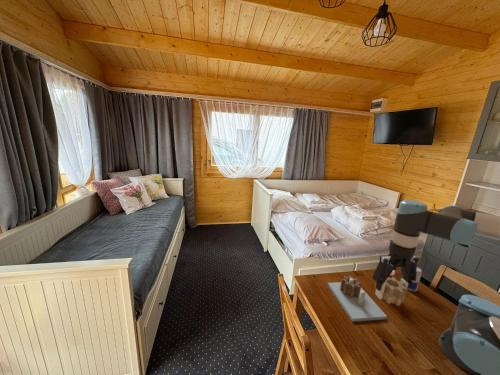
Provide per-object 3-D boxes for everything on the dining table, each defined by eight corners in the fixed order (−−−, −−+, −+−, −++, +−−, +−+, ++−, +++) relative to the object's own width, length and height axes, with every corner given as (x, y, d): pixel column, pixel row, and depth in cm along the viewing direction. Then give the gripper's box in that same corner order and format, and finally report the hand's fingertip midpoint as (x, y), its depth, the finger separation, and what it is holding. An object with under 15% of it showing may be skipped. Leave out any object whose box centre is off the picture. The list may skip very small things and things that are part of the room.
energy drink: (401, 286, 111) (407, 266, 108) (407, 283, 113) (413, 264, 110) (412, 293, 106) (418, 272, 104) (418, 290, 109) (424, 270, 106)
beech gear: (409, 304, 76) (413, 291, 75) (387, 306, 75) (391, 292, 73) (390, 287, 85) (394, 275, 83) (371, 288, 83) (374, 275, 82)
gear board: (386, 319, 90) (390, 302, 88) (352, 321, 88) (355, 305, 86) (355, 283, 111) (358, 270, 109) (327, 285, 109) (329, 271, 107)
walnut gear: (363, 294, 102) (365, 283, 100) (351, 300, 97) (354, 289, 96) (347, 283, 109) (349, 273, 108) (336, 288, 105) (338, 278, 103)
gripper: (420, 237, 79) (406, 287, 85) (368, 238, 76) (357, 290, 82) (439, 247, 72) (423, 301, 77) (383, 249, 69) (370, 305, 75)
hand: (389, 295), depth 80 cm, fingers closed on beech gear, 9 cm apart
